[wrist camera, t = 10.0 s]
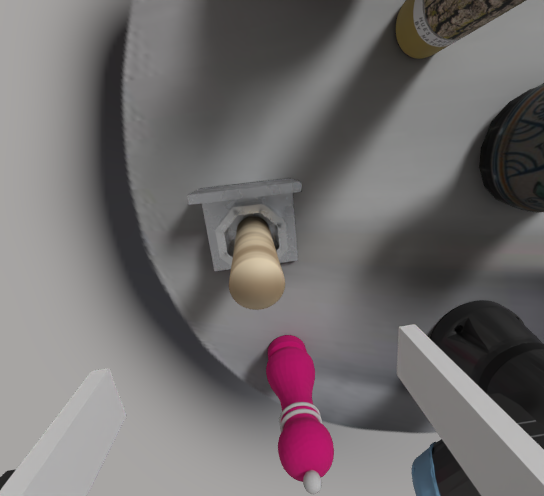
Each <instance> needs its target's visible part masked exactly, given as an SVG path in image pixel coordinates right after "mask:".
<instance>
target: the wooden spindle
mask: <svg viewBox="0 0 544 496" xmlns="http://www.w3.org/2000/svg"><path fill="white" fill-rule="evenodd" d="M284 288H285V279H284V275H283V272H282V269H281V265H280V262H279V259H278V256H277V252H276V249H275V246H274V242H273V239H272V236H271V232H270V229H269V226H268V224H267V222H266V221H265V220H264V219H262V218H260V217H258V216H248V217H246V218H244V219H243V220H241V222H240V223H239V224H238V227H237V232H236V238H235V245H234V252H233V259H232V266H231V272H230V279H229V290H230V293H231V295H232V297H233V299H234V300H235V301H236V302H237V303H238V304H240V305H241V306H243V307H245V308H248V309H254V310H258V309H264V308H268V307H270V306H272V305H273V304H275V303H276V302H277V301H278V300H279V299H280V297H281V296H282V294H283V292H284Z"/></svg>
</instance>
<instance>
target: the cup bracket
mask: <svg viewBox="0 0 544 496" xmlns="http://www.w3.org/2000/svg"><path fill="white" fill-rule="evenodd" d="M294 192H302V186H301V182H300V181H297V180H295V179H292V178H285V179H277V180H268V181H259V182H251V183H242V184H234V185H225V186H216V187H208V188H200V189H198V190H196V191H194V192H192V193H190V194H188V195H187V198H188V203H189V205H192V204H201V203H202V208H203V213H204V218H205V224H206V229H207V234H208V240H209V245H210V250H211V256H212V261H213V266H214V271H221V270H228V269H231V266H232V259H233V252H234V245H235V238H236V232H237V227H238V224H239V223H240V222H241V220H243V219H244V218H246V217H248V216H258V217H260V218H262V219H264V220H265V221H266V222H267V224H268V226H269V229H270V232H271V236H272V239H273V242H274V246H275V249H276V252H277V256H278V259H279V262H280V263H282V262H290V261H298V254H297V241H296V229H295V217H294V205H293V193H294Z"/></svg>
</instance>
